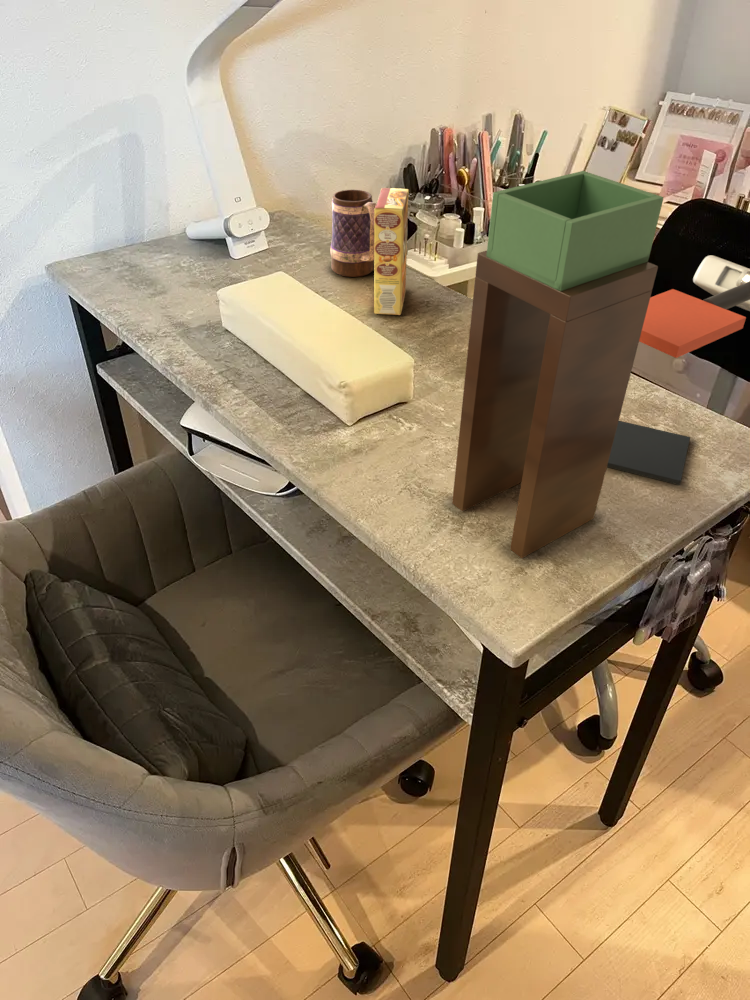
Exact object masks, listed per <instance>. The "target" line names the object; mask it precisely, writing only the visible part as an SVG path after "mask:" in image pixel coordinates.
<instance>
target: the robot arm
mask: <svg viewBox="0 0 750 1000" xmlns="http://www.w3.org/2000/svg"><path fill="white" fill-rule="evenodd" d="M749 281H750V268H748V267H746V266H744V265H740V264H738V263H735V262H732V261H730V260H727V259H724V258H721V257H719V256H716V255H709V254H708V255H707V256H705V257H704V258H703V259H702V261H701V263H700V264H699V266H698V267H697V269H696V271H695V273H694V275H693V278H692V283H694V284H695V286H698V287H699V288H701V289H702V290H704V291H705V292H707V293H709V294H710V295H712V296H714V295H717V294H719V293H722V292H724V291H727V290H729V289H732V288H734V287H737V286H739V285H742V284H744V283H747V282H749ZM735 307H738V308H741V309H743V310H745V311H748V312H750V300H748V301H745V302H743V303H741V304H738V305H736V306H735Z"/></svg>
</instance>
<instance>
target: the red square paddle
mask: <svg viewBox="0 0 750 1000" xmlns="http://www.w3.org/2000/svg"><path fill="white" fill-rule="evenodd" d="M748 300H750V281H749V282H747V283H744V284H742V285H739V286H737V287H734V288H732V289H729V290H727V291H724V292H722V293H719V294H717V295H712V296H709V297H707V298H704V299H703V300H702V299H701V298H698V297H695V296H693V295H689V294H687V293H685V292H682V291H679V290H677V289H674V288H671V289H669V290H667V291H664V292H661V293H658V294H656V295H654V296H650V300H649V304H648V308H647V312H646V316H645V320H644V324H643V328H642V332H641V336H640V339H639V342H640V343H641V344H644V345H646V346H648V347H651V348H652V349H655V350H657V351H659V352H661V353H663V354H666V355H668V356H670V357H673V358H675V359H678V358H680V357H682V356H684V355H686V354H688V353H691V352H693V351H695V350H698V349H701V348H702V347H704V346H706V345H708V344H709V345H710V344H711V343H713V342H716V341H717V340H720V339H723V338H724V337H727V336H729V335H731V334H733V333H736V332H738V331H741V330H742V329H744V325H745V322H746V321H747V320H746V319H747V317H746V316H744V315H742V314H739V313H736V312H734V311H731V310H729V309H731V308H733V307H737V306H736V305H738V304H741V303H743V302H745V301H748Z"/></svg>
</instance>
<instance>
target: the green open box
mask: <svg viewBox="0 0 750 1000" xmlns="http://www.w3.org/2000/svg"><path fill="white" fill-rule="evenodd" d="M491 200H492V201H491V209H490V210H491V211H490V218H489V227H488V236H487V246H486V251H487V254H486V257H488V258H490V259H492V260H495V261H497V262H499V263H501V264H503V265H505V266H507V267H510V268H512V269H514V270H516V271H518V272H520V273H522V274H524V275H527V276H529V277H531V278H533V279H535V280H537V281H539V282H542V283H544V284H546V285H548V286H550V287H552V288H554V289H556V290H559V291H563V290H566V289H569V288H572V287H575V286H578V285H581V284H584V283H586V282H589V281H592V280H595V279H598V278H601V277H604V276H607V275H610V274H613V273H616V272H619V271H622V270H625V269H628V268H631V267H633V266H636V265H639V264H642V263H645V262H649V259H650V255H651V251H652V246H653V243H654V239H655V235H656V231H657V226H658V222H659V218H660V214H661V210H662V206H663V203H664V196H662V195H657V194H656V193H652V192H648V191H647V190H644V189H640V188H637V187H634V186H631V185H628V184H626V183H625V184H624V183H622V182H619V181H616V180H613V179H609V178H606V177H603V176H601V175H598V174H595V173H591V172H588V171H585V170H580V171H577V172H574V173H568V174H564V175H560V176H555V177H551V178H547V179H542V180H539V181H535V182H530V183H526V184H522V185H518V186H513V187H509V188H505V189H502V190H498V191H497V190H496V191H493V193H492V199H491Z"/></svg>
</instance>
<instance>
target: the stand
mask: <svg viewBox="0 0 750 1000" xmlns="http://www.w3.org/2000/svg"><path fill="white" fill-rule="evenodd" d="M486 254H487V250H484V251H480V252H477V255H476V256H477V257H476V266H475V277H474V284H473V285H474V286H473V295H472V304H471V314H470V316H471V317H470V324H469V334H468V343H467V352H466V353H467V354H466V364H465V373H464V383H463V393H462V395H463V396H462V403H461V411H460V413H461V414H460V423H459V432H458V434H459V435H458V443H457V453H456V463H455V471H454V481H453V491H452V500H451V502H452V503H451V504H452V505H453V506H455V507H456V508H458V509H459V510H460V511H461V512H465V511H466V510H468V509H470V508H473V507H474V506H476V505H479V504H481V503H483V502H484V501H486V500H489V499H491V498H493V497H495V496H497V495H499V494H501V493H503V492H505V491H507V490H509V489H511V488H513V487H515V486H517V485H519V484H520V490H519V493H518V494H519V495H518V500H517V507H516V513H515V519H514V525H513V529H512V534H511V535H512V536H511V541H510V548H509V550H510V551H512V552H513V553H514V554H515V555H517V556H518V557H519V558H521V559H524V558H525V557H527V556H529V555H531V554H533V553H535V552H536V551H538V550H540V549H542V548H544V547H545V546H547V545H549V544H551V543H552V542H554V541H556V540H557V539H559V538H561V537H563V536H565V535H567V534H569V533H570V532H573V531H574V530H576V529H578V528H580V527H581V526H583V525H584V524H586V523H589V522H590V521H592V520H593V519H594V518H595V515H596V511H597V507H598V503H599V499H600V495H601V492H602V488H603V483H604V480H605V476H606V472H607V468H608V467H607V464H608V460H609V457H610V453H611V449H612V445H613V441H614V437H615V433H616V429H617V425H618V421H620V418H621V413H622V409H623V405H624V402H625V398H626V394H627V390H628V386H629V383H630V379H631V374H632V370H633V367H634V363H635V358H636V354H637V350H638V347H639V339H640V336H641V332H642V328H643V324H644V320H645V316H646V312H647V308H648V304H649V300H650V297H652V292H653V288H654V285H655V280H656V277H657V272H658V270H659V266H658V265H656V264H654V263H652V262H649V261H648V262H645V263H642V264H639V265H636V266H633V267H631V268H628V269H625V270H622V271H619V272H616V273H613V274H610V275H607V276H604V277H601V278H598V279H595V280H592V281H589V282H586V283H584V284H581V285H578V286H575V287H572V288H569V289H566V290H563V291H559V290H556V289H554V288H552V287H550V286H548V285H546V284H544V283H542V282H539V281H537V280H535V279H533V278H531V277H529V276H527V275H524V274H522V273H520V272H518V271H516V270H514V269H512V268H510V267H507V266H505V265H503V264H501V263H499V262H497V261H495V260H492V259H490V258H488V257H486Z"/></svg>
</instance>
